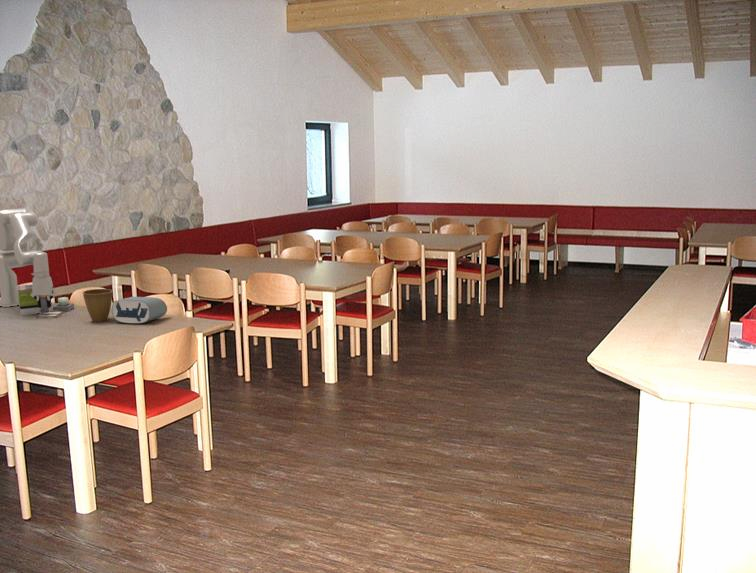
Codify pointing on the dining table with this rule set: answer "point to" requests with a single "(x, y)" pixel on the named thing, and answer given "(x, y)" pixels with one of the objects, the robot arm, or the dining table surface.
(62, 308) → the button housing
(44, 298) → the marker
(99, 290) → the plant pot
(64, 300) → the button
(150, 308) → the pencil case
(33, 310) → the tea box
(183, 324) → the dining table surface
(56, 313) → the clipboard
